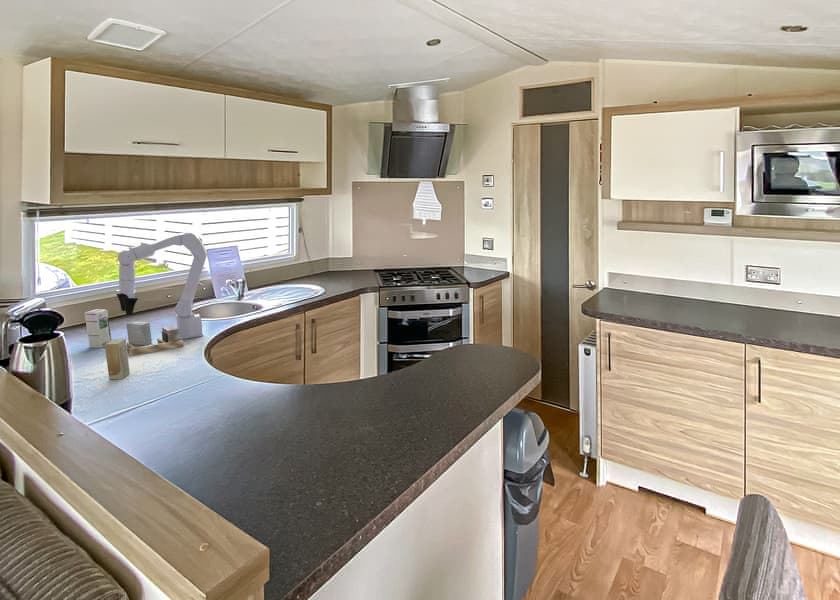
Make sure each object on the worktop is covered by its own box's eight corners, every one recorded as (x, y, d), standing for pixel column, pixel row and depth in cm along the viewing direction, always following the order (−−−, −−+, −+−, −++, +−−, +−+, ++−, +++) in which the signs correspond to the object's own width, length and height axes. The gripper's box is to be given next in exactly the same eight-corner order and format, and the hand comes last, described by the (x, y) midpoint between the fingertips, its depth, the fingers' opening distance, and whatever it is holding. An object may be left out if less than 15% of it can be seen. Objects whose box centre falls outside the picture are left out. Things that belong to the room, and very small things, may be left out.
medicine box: (152, 343, 228) (150, 322, 226) (143, 346, 223) (141, 324, 222) (137, 341, 230) (134, 321, 228) (128, 344, 226) (126, 323, 224)
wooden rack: (176, 341, 230) (174, 324, 228) (183, 346, 222) (181, 329, 221) (124, 349, 218) (122, 332, 216) (131, 355, 210) (129, 337, 209)
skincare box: (117, 374, 189) (112, 338, 186) (130, 373, 189) (126, 338, 187) (108, 380, 182) (103, 343, 180) (122, 379, 183) (117, 343, 180)
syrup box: (101, 348, 221) (97, 312, 218) (88, 347, 222) (84, 311, 219) (112, 344, 226) (108, 309, 223) (99, 343, 227) (95, 308, 225)
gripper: (111, 276, 230) (111, 309, 232) (120, 282, 219) (120, 316, 221) (130, 276, 234) (130, 308, 236) (140, 282, 223) (139, 315, 225)
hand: (126, 312), depth 229 cm, fingers open, 7 cm apart
